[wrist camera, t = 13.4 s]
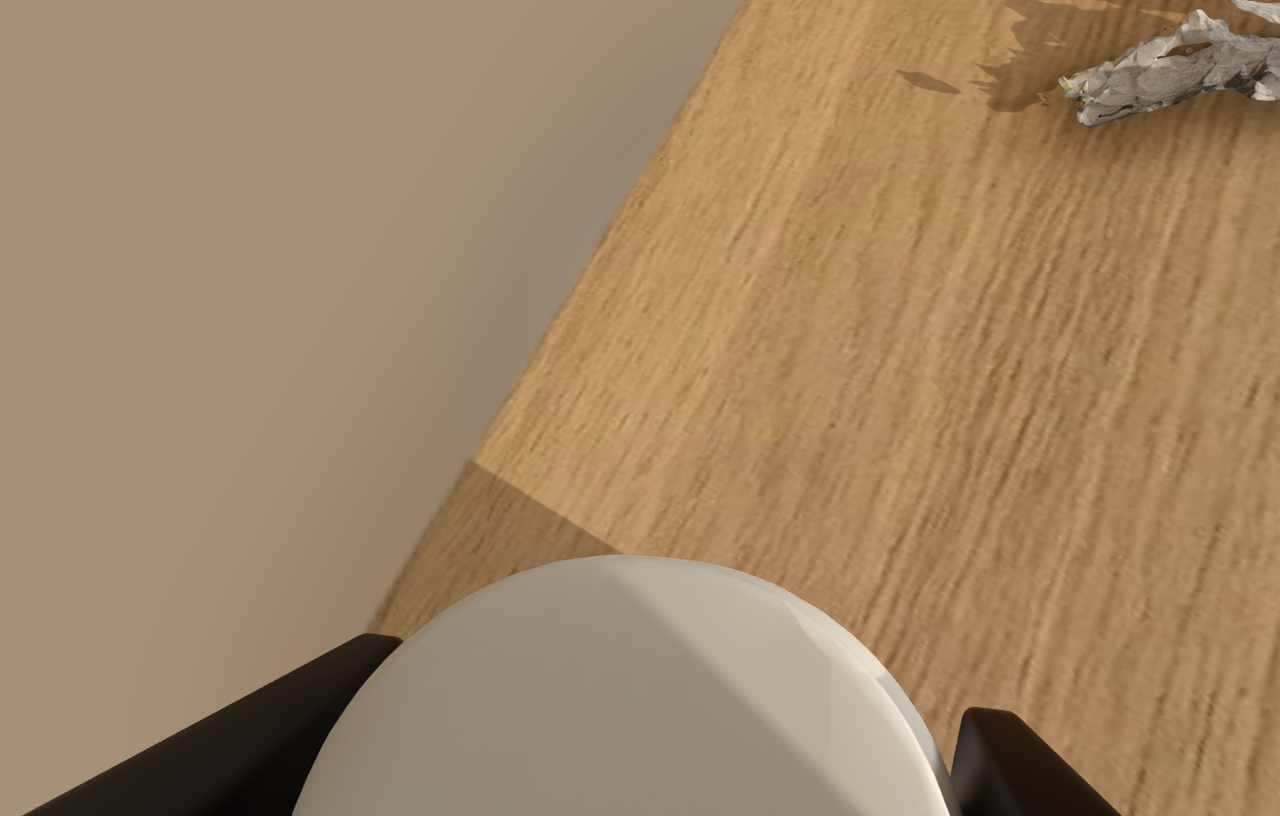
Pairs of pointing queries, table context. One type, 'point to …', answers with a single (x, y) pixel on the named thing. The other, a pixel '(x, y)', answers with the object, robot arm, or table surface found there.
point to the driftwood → (1180, 69)
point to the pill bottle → (630, 706)
